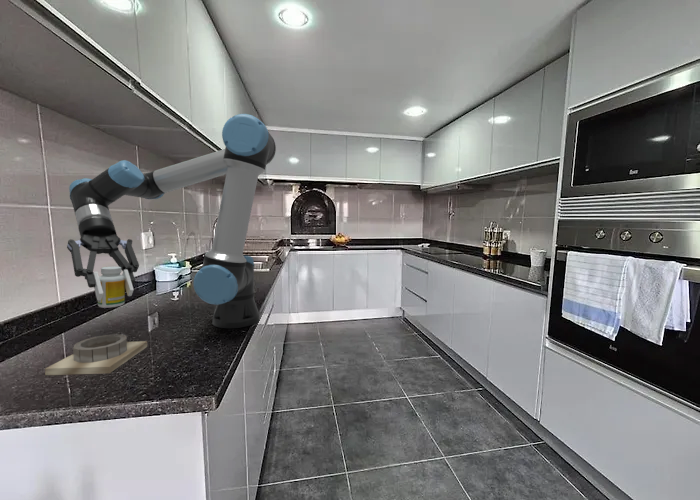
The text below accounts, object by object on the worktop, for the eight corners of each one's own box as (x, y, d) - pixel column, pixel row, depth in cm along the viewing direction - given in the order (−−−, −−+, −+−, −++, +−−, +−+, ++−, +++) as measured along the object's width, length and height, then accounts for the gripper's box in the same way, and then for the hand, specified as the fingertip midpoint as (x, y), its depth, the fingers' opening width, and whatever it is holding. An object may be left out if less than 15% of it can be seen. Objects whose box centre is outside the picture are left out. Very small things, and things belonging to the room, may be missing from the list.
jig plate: (147, 346, 82) (146, 330, 82) (109, 373, 67) (108, 353, 67) (95, 347, 81) (94, 331, 80) (45, 375, 66) (44, 355, 66)
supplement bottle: (92, 307, 74) (91, 268, 73) (108, 302, 79) (107, 265, 78) (115, 308, 74) (114, 269, 73) (129, 302, 79) (129, 266, 79)
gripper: (132, 234, 92) (154, 297, 83) (47, 234, 77) (62, 310, 69) (138, 217, 88) (162, 281, 79) (50, 213, 74) (67, 291, 65)
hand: (116, 294), depth 74 cm, fingers closed on supplement bottle, 5 cm apart
